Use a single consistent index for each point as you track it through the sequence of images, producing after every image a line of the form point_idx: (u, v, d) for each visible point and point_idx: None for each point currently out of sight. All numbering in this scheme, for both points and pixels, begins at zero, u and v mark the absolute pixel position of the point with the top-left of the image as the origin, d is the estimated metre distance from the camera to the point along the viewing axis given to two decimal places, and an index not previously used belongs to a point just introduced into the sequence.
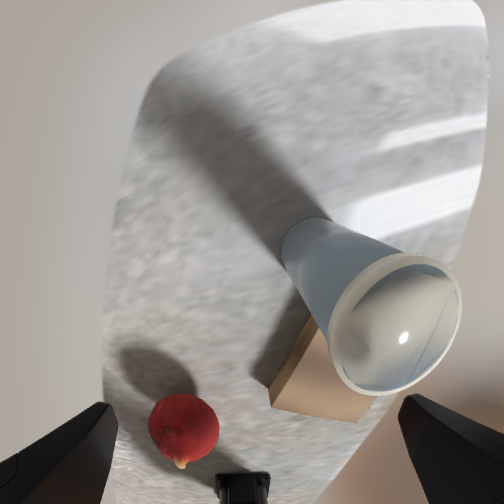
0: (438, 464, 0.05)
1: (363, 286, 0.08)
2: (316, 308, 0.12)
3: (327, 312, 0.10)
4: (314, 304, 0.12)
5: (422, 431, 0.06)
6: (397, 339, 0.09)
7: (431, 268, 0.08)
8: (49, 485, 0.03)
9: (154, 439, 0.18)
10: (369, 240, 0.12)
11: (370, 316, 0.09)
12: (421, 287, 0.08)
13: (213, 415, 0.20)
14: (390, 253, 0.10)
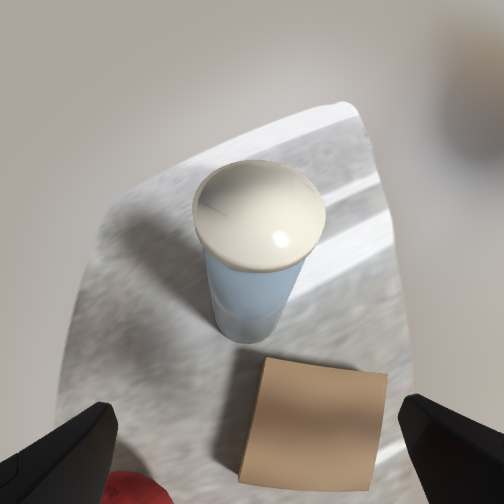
0: (439, 464, 0.05)
1: (206, 178, 0.12)
2: (204, 254, 0.14)
3: None
4: (204, 257, 0.14)
5: (422, 431, 0.06)
6: (252, 207, 0.12)
7: (261, 164, 0.13)
8: (49, 485, 0.03)
9: None
10: None
11: (217, 193, 0.12)
12: (257, 174, 0.13)
13: (163, 491, 0.13)
14: None
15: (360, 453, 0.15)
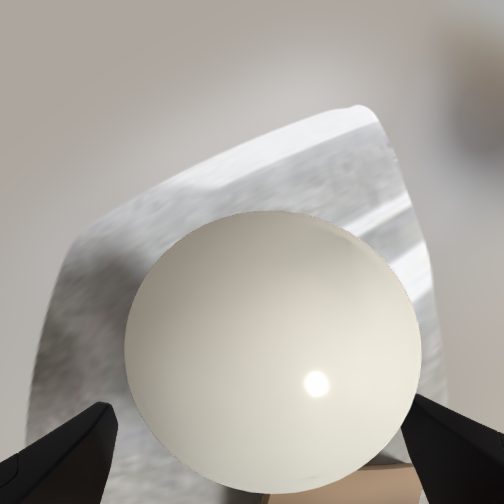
0: (438, 464, 0.05)
1: (159, 262, 0.05)
2: None
3: None
4: None
5: (422, 431, 0.06)
6: (266, 349, 0.05)
7: (281, 221, 0.06)
8: (49, 485, 0.03)
9: None
10: None
11: (182, 306, 0.05)
12: (275, 249, 0.06)
13: None
14: None
15: None
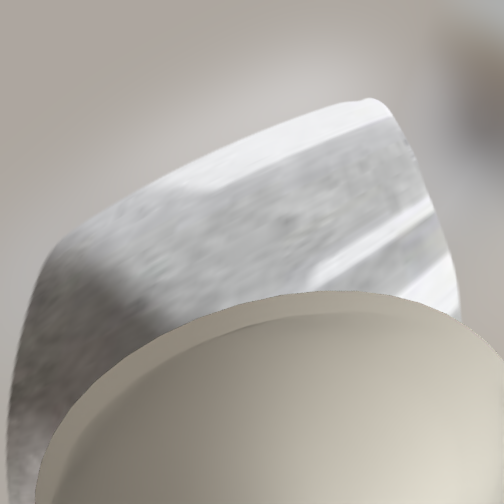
0: None
1: (68, 419, 0.02)
2: None
3: None
4: None
5: None
6: None
7: (349, 321, 0.02)
8: None
9: None
10: None
11: None
12: (337, 401, 0.02)
13: None
14: None
15: None
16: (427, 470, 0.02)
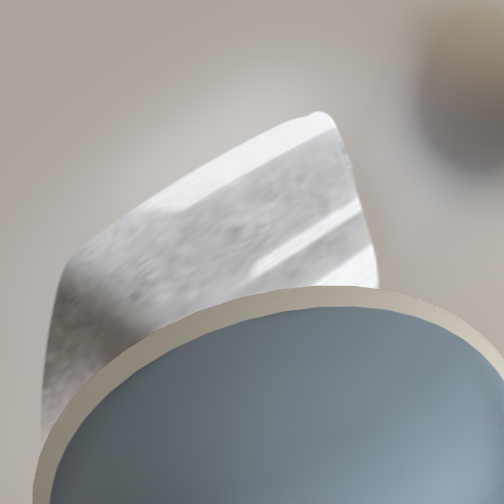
0: None
1: (66, 414, 0.02)
2: None
3: None
4: None
5: None
6: None
7: (346, 315, 0.02)
8: None
9: None
10: None
11: None
12: (334, 396, 0.02)
13: None
14: None
15: None
16: (426, 466, 0.02)
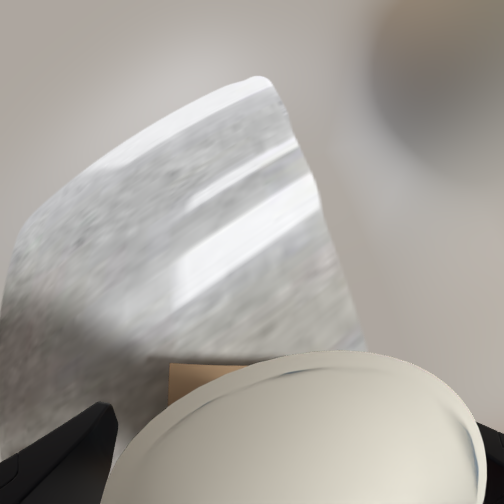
0: None
1: (128, 449, 0.03)
2: None
3: None
4: None
5: None
6: None
7: (335, 374, 0.03)
8: (49, 485, 0.03)
9: None
10: None
11: None
12: (324, 430, 0.03)
13: None
14: None
15: None
16: (389, 479, 0.02)
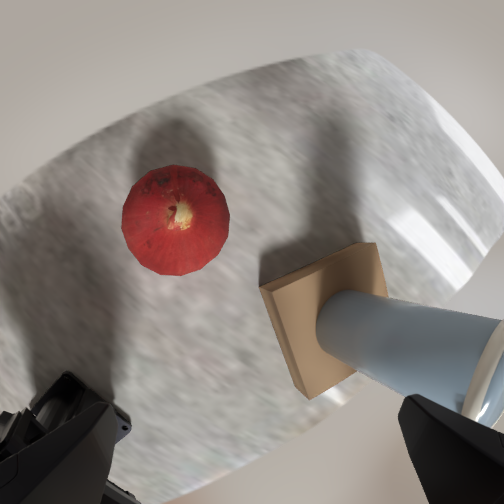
0: (438, 464, 0.05)
1: None
2: (449, 329, 0.10)
3: (479, 329, 0.09)
4: (444, 327, 0.10)
5: (422, 431, 0.06)
6: None
7: None
8: (49, 485, 0.03)
9: (159, 176, 0.13)
10: None
11: None
12: None
13: None
14: None
15: (338, 367, 0.20)
16: None
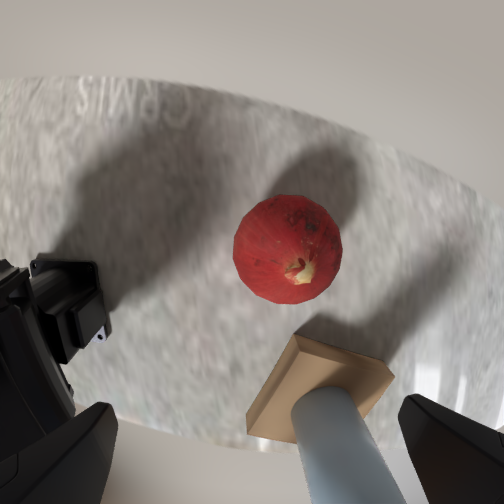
0: (438, 464, 0.05)
1: None
2: (379, 490, 0.10)
3: None
4: (378, 485, 0.10)
5: (422, 431, 0.06)
6: None
7: None
8: (49, 485, 0.03)
9: (311, 218, 0.13)
10: None
11: None
12: None
13: None
14: None
15: (287, 432, 0.20)
16: None
